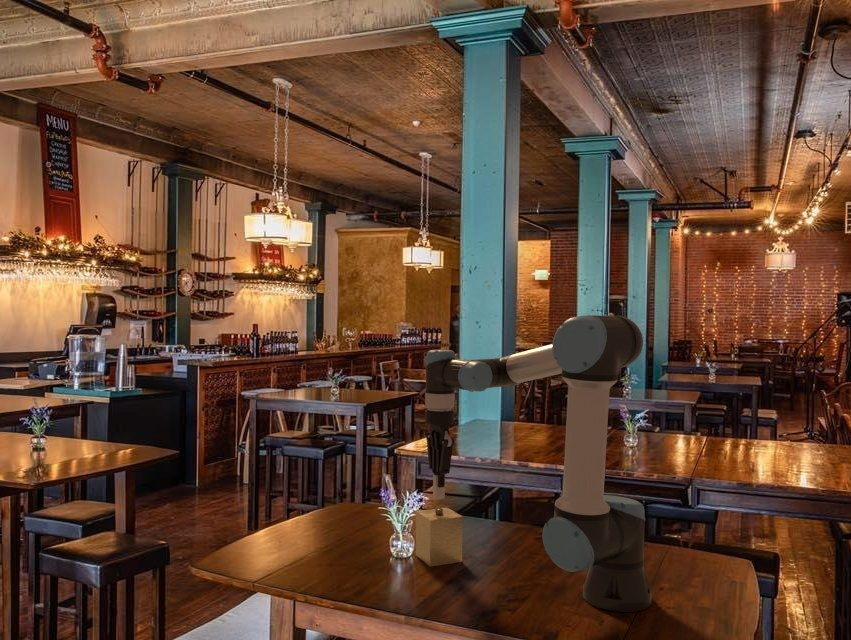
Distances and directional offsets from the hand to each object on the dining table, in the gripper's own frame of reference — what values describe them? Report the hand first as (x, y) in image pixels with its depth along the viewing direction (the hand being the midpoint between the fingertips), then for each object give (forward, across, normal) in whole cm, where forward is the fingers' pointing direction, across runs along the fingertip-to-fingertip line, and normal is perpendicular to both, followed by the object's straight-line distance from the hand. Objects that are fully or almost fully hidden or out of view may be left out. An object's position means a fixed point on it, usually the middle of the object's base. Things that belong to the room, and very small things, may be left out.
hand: (438, 498), depth 194 cm
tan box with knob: (+16, 0, 0) cm, 16 cm away
